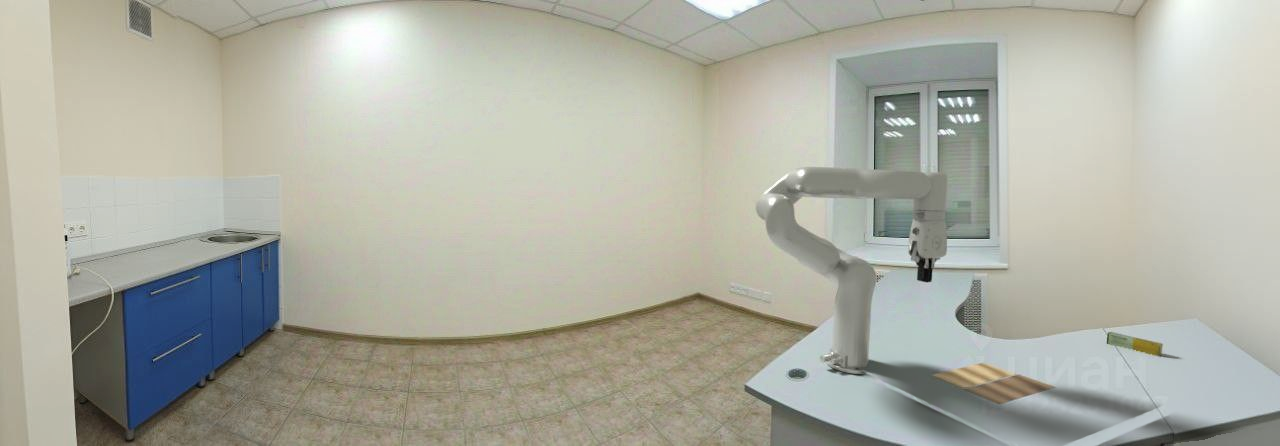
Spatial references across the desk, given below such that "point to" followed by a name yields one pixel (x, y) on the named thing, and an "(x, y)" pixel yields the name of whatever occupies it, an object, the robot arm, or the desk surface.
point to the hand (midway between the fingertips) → (924, 281)
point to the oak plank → (973, 375)
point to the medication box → (1134, 343)
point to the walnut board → (1009, 388)
